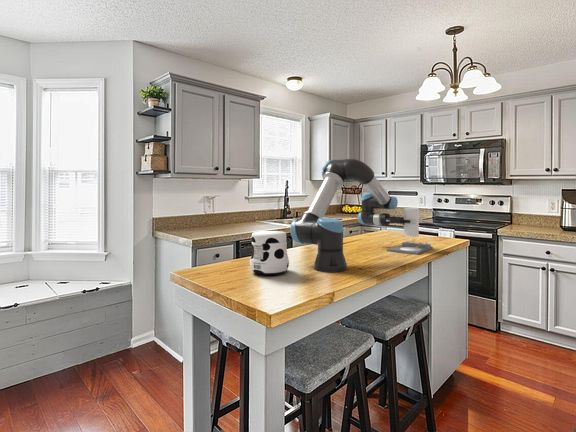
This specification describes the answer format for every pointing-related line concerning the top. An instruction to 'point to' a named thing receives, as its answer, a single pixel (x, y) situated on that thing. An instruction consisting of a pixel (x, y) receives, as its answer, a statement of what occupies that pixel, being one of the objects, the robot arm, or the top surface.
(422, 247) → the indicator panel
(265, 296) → the top surface
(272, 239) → the milk container
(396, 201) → the robot arm
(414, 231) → the cup
